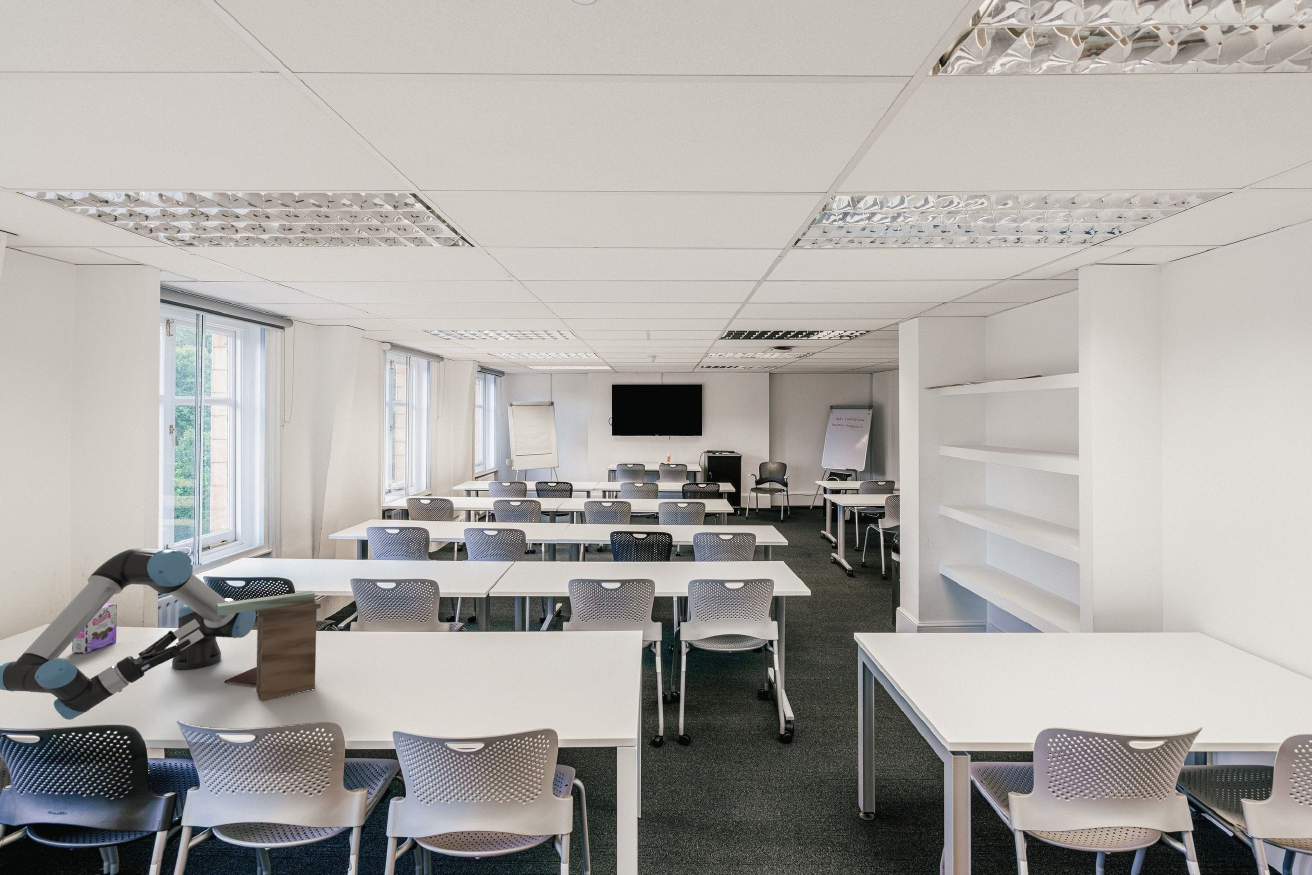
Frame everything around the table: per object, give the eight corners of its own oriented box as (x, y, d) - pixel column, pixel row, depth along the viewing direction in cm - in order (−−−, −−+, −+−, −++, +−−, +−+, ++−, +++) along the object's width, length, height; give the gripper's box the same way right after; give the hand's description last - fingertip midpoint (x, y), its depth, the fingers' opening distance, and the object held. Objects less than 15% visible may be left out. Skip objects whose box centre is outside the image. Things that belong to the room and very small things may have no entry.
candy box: (86, 653, 243) (86, 612, 243) (71, 653, 243) (72, 611, 243) (117, 642, 257) (117, 602, 257) (103, 641, 257) (103, 602, 257)
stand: (252, 691, 213) (254, 604, 213) (310, 678, 225) (312, 596, 225) (258, 703, 204) (260, 612, 204) (318, 689, 216) (320, 603, 216)
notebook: (224, 684, 219) (224, 678, 219) (270, 664, 239) (270, 659, 239) (259, 689, 216) (259, 683, 216) (303, 668, 236) (303, 663, 235)
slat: (216, 612, 203) (216, 603, 203) (312, 599, 221) (312, 590, 221) (217, 615, 200) (218, 606, 199) (314, 601, 218) (314, 593, 218)
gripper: (130, 670, 197) (202, 626, 209) (131, 696, 178) (210, 647, 190) (115, 652, 194) (189, 609, 206) (114, 677, 175) (195, 628, 187)
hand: (199, 627), depth 198 cm, fingers open, 13 cm apart
